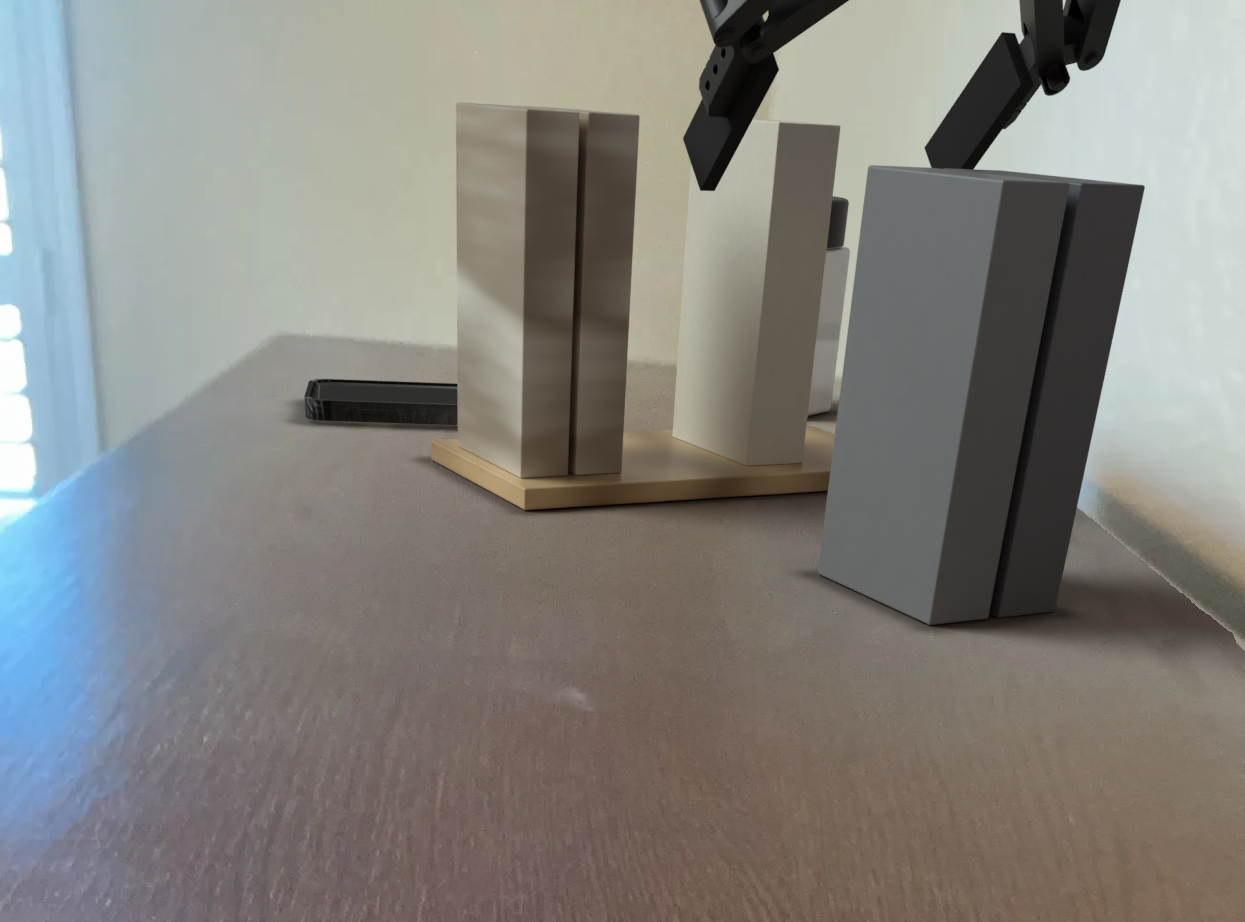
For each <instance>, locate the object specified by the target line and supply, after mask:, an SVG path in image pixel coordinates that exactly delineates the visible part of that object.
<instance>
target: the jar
mask: <svg viewBox="0 0 1245 922" xmlns="http://www.w3.org/2000/svg"><path fill="white" fill-rule="evenodd" d="M849 206H850V201H849V200H848V199H847V198H845V197H840V196H835V195H833V197H832V206H831V215H830V223H829V232H828V241H827V250H826V259H825V267H824V276H823V285H822V294H821V303H820V311H819V320H818V329H817V338H816V346H815V355H814V364H813V373H812V382H811V390H810V399H809V408H808V417H809V416H814V415H817V414H822V413H827V412H829V411H830V410H831V408H832V405H833V397H834V388H835V387H834V386H835V379H836V371H837V362H838V356H839V355H838V354H839V347H840V339H841V330H842V322H843V313H844V306H845V296H846V289H847V279H848V273H849V272H848V271H849V263H850V256H851V250H850V248H848V247H846V246H845V239H846V232H847V224H848V223H847V221H848V214H849Z"/></svg>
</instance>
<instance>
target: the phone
mask: <svg viewBox="0 0 1245 922" xmlns="http://www.w3.org/2000/svg"><path fill="white" fill-rule="evenodd" d="M303 398H304V414H305V415H304V416H305V418H306V419H308V420H312V421H319V422H342V423H344V422H345V423H367V424H368V423H371V424H397V425H399V424H401V425H402V424H403V425H428V426H429V425H430V426H432V425H433V426H458V391H457V383H450V382H424V381H423V382H421V381H397V380H396V381H394V380H369V379H368V380H367V379H344V378H343V379H341V378H316V379H310V380H309V381H308V382H307V386H306V390H305V392H304V396H303Z"/></svg>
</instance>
